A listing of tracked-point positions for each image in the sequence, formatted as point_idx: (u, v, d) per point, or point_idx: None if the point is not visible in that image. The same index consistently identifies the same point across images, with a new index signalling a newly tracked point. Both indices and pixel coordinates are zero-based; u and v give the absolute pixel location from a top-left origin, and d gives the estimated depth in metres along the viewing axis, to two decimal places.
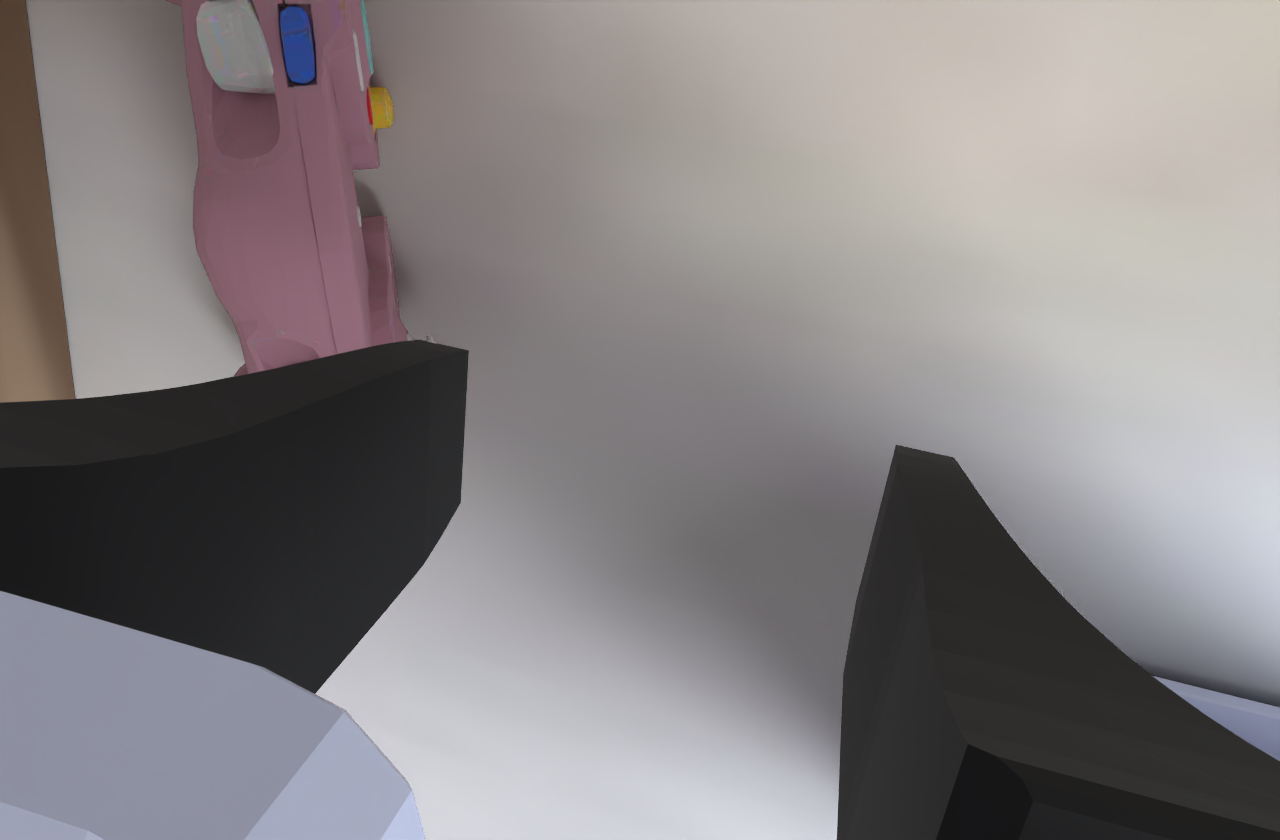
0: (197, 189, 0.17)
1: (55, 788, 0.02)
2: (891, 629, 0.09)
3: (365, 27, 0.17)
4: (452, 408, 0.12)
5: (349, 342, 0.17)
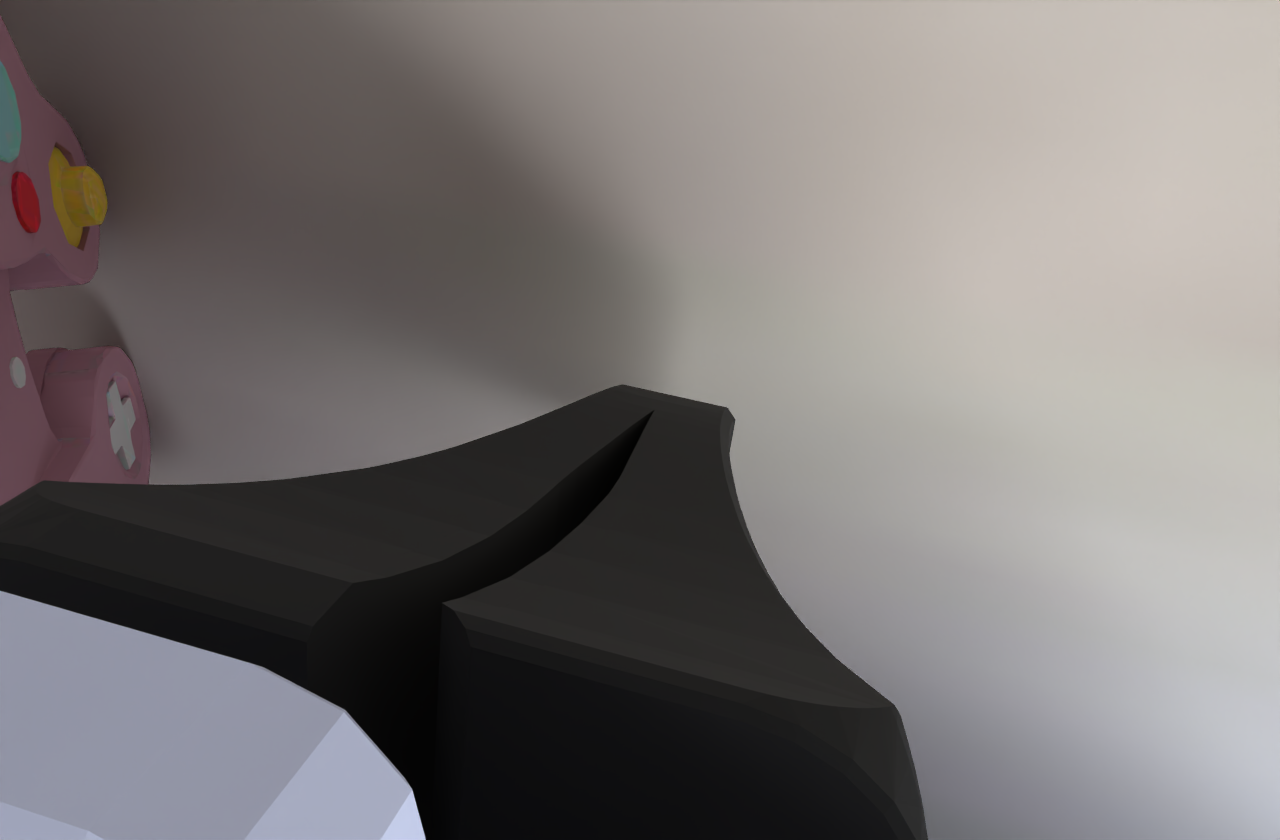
0: None
1: (55, 786, 0.02)
2: None
3: None
4: None
5: None
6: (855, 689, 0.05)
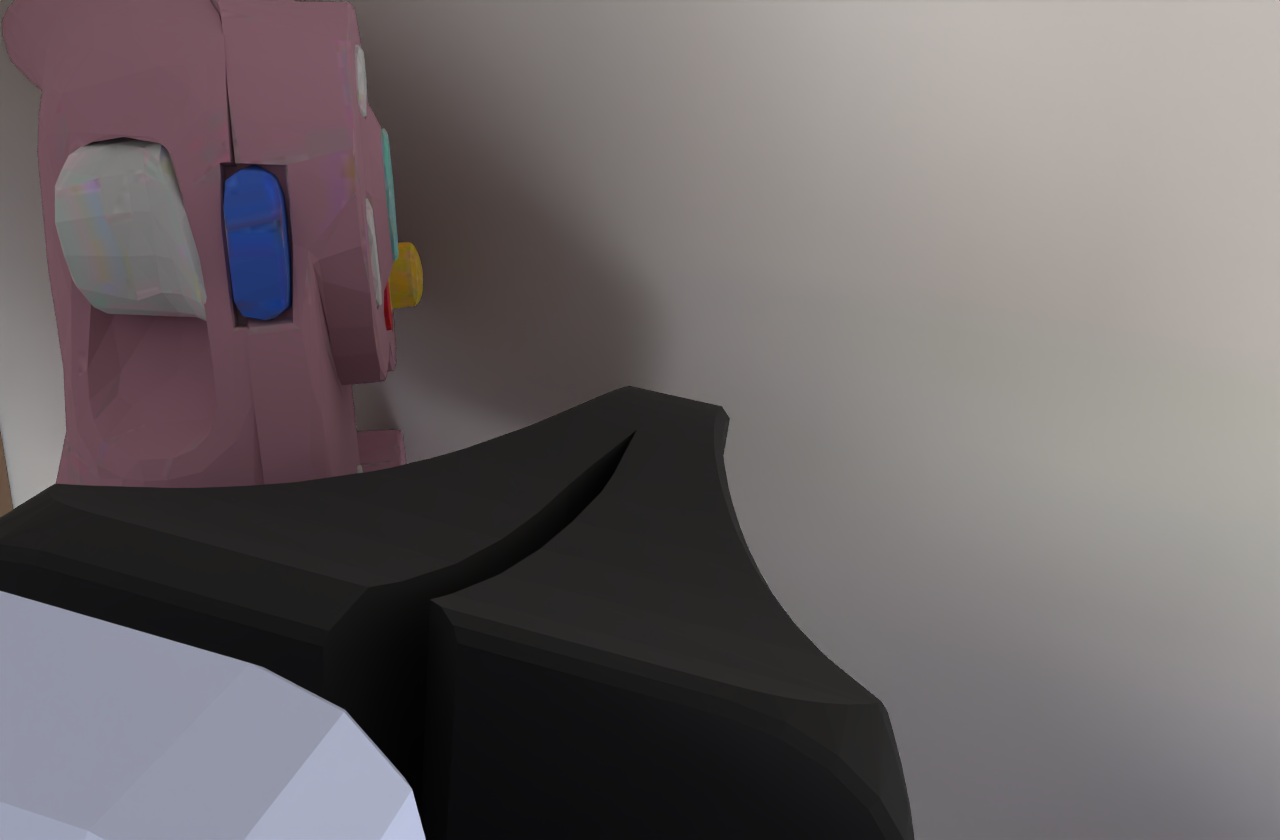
0: None
1: (56, 787, 0.02)
2: None
3: (389, 187, 0.09)
4: None
5: None
6: (842, 685, 0.05)
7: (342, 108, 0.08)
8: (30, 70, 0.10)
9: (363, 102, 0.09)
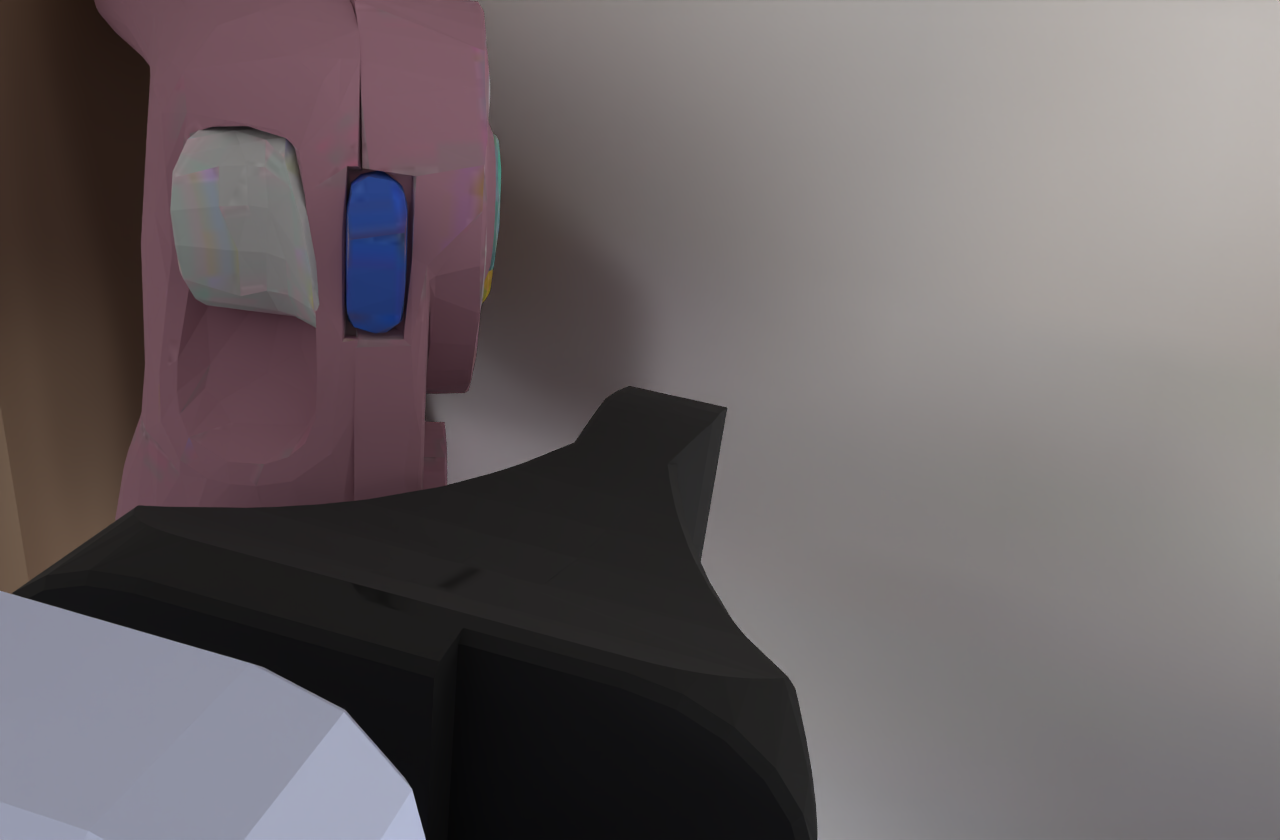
0: (131, 474, 0.09)
1: (54, 786, 0.02)
2: None
3: (498, 199, 0.09)
4: (712, 469, 0.11)
5: None
6: (751, 662, 0.05)
7: (477, 123, 0.08)
8: (125, 26, 0.10)
9: None
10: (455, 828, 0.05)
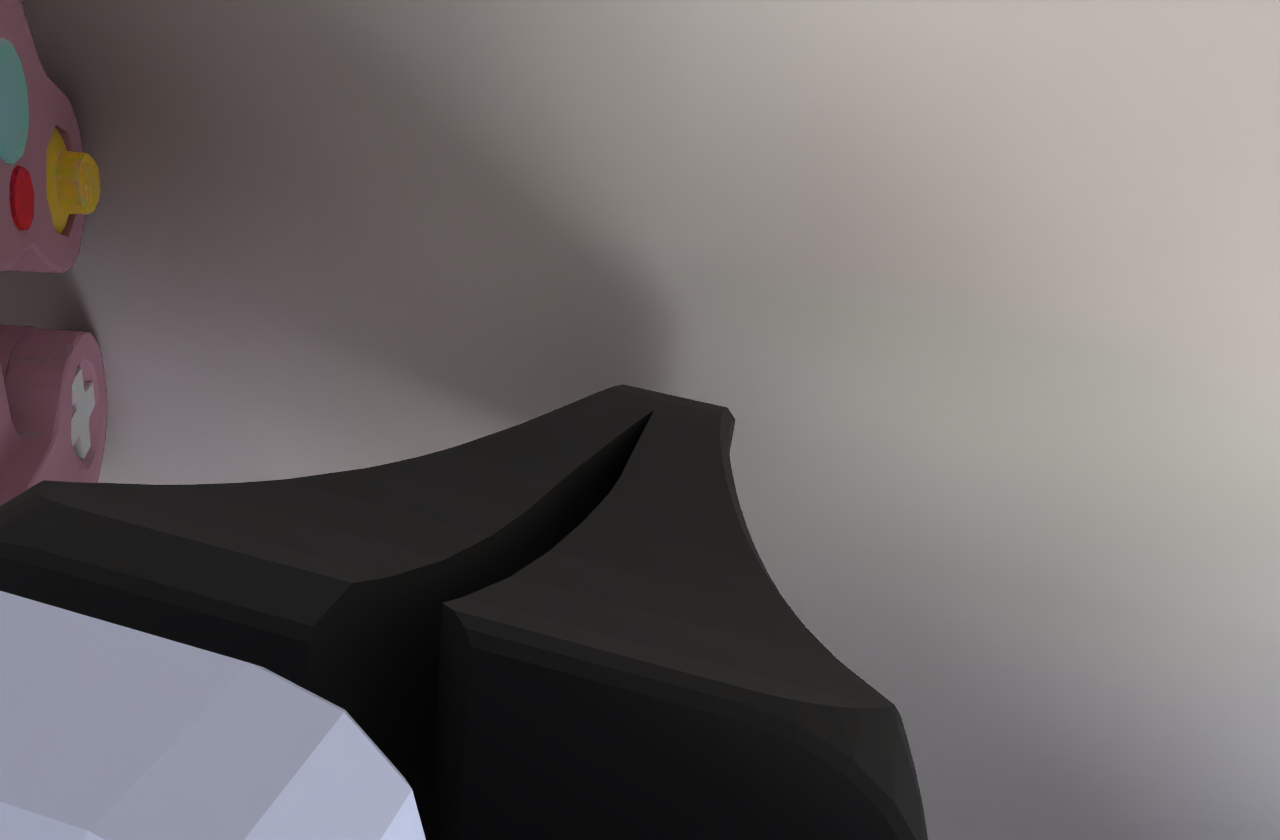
0: None
1: (53, 787, 0.02)
2: None
3: None
4: None
5: None
6: (855, 689, 0.05)
7: None
8: None
9: None
10: None
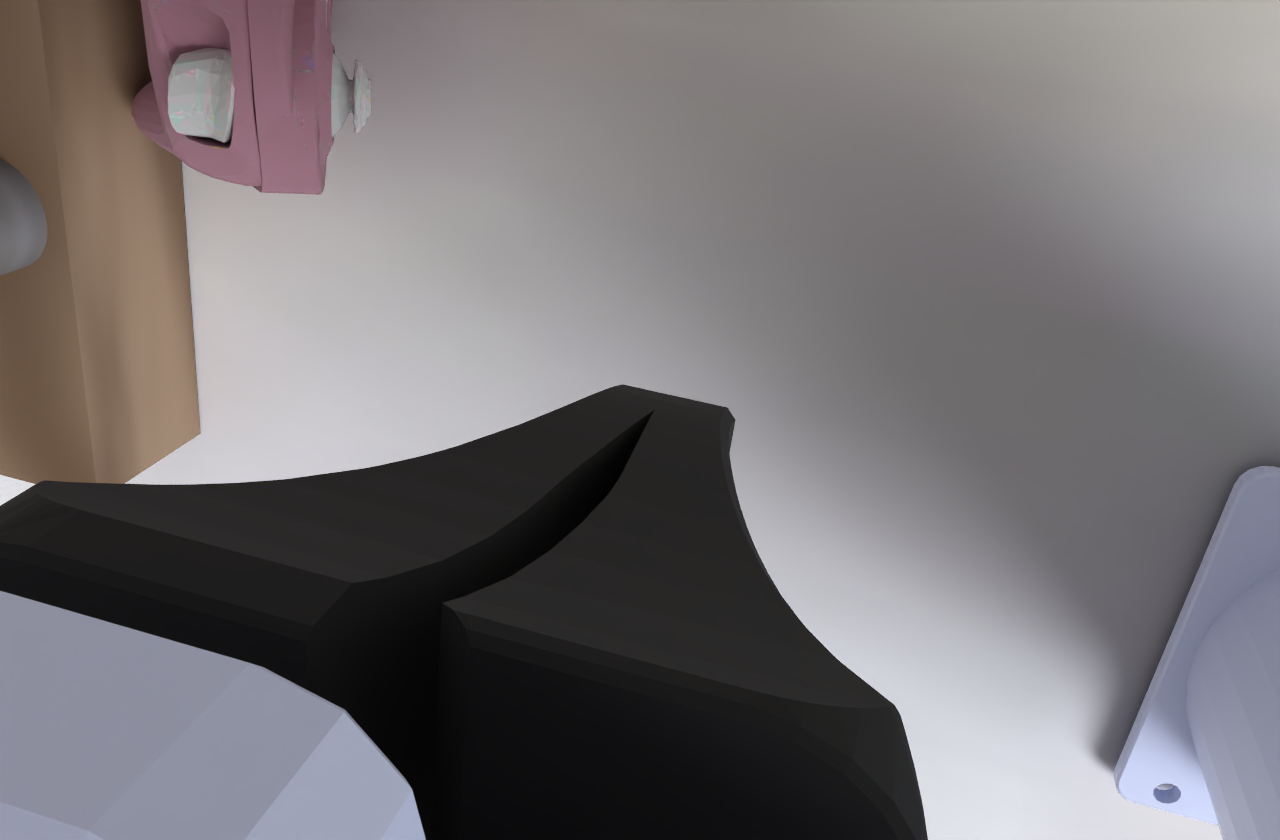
0: None
1: (55, 787, 0.02)
2: None
3: None
4: None
5: (264, 19, 0.16)
6: (855, 689, 0.05)
7: None
8: None
9: None
10: None
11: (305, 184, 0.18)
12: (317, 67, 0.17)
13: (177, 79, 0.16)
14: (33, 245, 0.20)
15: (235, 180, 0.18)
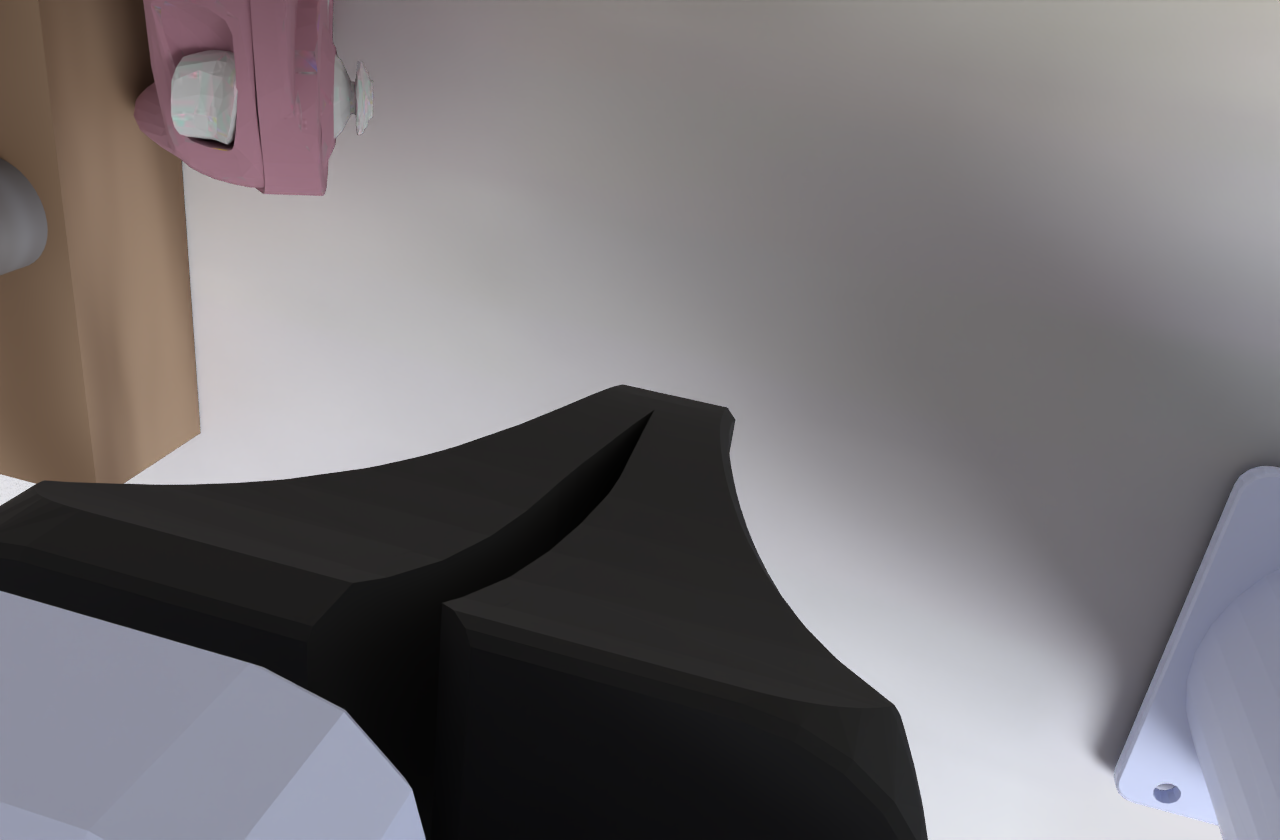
0: None
1: (55, 787, 0.02)
2: None
3: None
4: None
5: (267, 22, 0.16)
6: (855, 689, 0.05)
7: None
8: None
9: None
10: None
11: (308, 185, 0.18)
12: (320, 69, 0.17)
13: (180, 81, 0.16)
14: (33, 245, 0.20)
15: (238, 182, 0.18)
